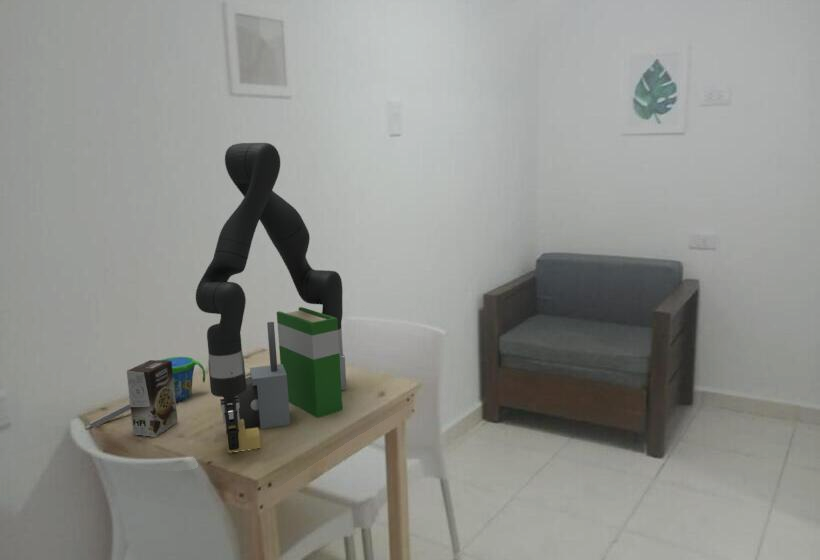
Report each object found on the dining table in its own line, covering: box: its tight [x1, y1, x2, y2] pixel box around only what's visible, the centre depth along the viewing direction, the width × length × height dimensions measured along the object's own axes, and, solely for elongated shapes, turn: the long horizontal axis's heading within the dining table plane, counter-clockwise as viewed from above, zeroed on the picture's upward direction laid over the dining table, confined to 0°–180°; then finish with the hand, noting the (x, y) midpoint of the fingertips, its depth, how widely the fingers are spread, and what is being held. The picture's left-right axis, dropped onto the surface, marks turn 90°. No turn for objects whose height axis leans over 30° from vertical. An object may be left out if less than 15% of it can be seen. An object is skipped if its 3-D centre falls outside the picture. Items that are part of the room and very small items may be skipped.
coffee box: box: [126, 359, 179, 438], centre depth 159 cm, size 9×6×16 cm
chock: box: [225, 419, 262, 453], centre depth 149 cm, size 7×5×6 cm
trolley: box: [235, 321, 291, 430], centre depth 160 cm, size 13×9×25 cm
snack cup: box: [162, 356, 206, 402], centre depth 181 cm, size 16×10×10 cm
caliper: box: [84, 402, 131, 430], centre depth 169 cm, size 20×1×6 cm, turn 138°
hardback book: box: [276, 306, 344, 419], centre depth 171 cm, size 18×7×24 cm, turn 39°
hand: (233, 443), depth 148 cm, fingers closed on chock, 5 cm apart
